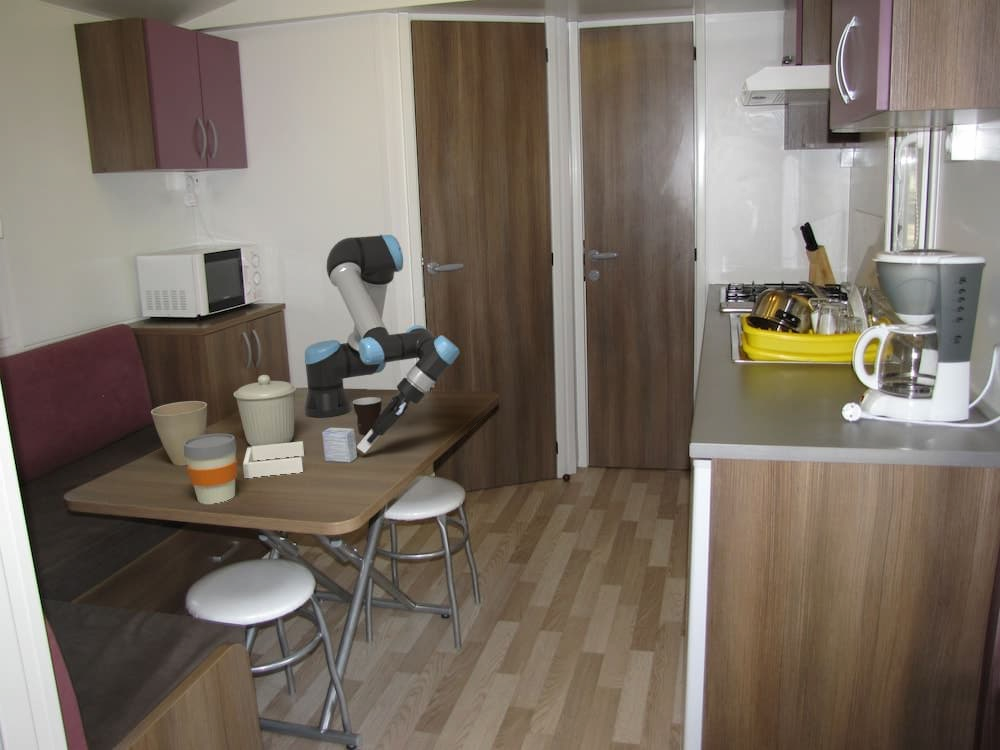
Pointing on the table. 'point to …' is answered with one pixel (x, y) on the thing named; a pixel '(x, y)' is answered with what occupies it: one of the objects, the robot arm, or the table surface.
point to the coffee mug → (366, 413)
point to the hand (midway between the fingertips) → (360, 449)
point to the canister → (267, 411)
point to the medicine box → (339, 444)
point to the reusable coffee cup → (212, 466)
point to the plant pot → (179, 426)
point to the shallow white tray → (273, 466)
